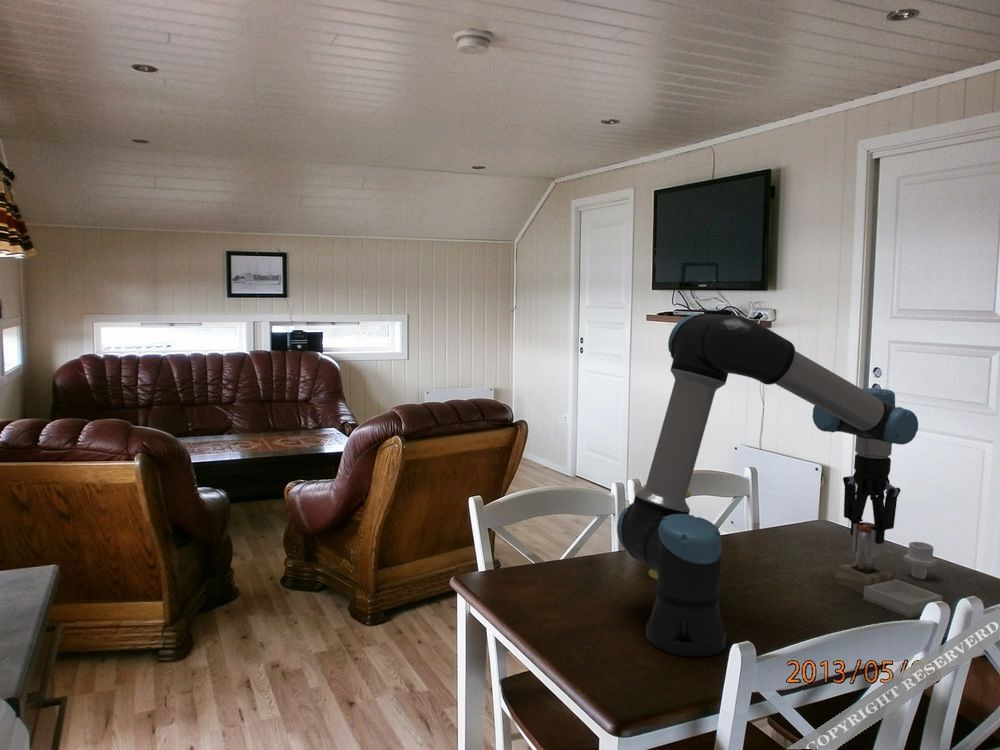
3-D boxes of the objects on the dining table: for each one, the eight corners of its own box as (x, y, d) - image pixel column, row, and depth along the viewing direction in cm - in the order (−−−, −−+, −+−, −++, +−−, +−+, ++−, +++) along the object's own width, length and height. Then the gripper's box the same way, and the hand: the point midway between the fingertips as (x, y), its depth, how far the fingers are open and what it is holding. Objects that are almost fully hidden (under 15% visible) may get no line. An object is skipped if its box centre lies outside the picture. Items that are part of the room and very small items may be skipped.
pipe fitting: (898, 575, 183) (900, 544, 182) (912, 570, 187) (914, 539, 187) (925, 583, 178) (928, 551, 177) (939, 577, 182) (941, 545, 182)
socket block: (868, 595, 170) (869, 578, 170) (834, 582, 178) (835, 566, 178) (894, 589, 174) (895, 572, 174) (860, 576, 182) (861, 560, 182)
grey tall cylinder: (865, 582, 173) (869, 528, 172) (850, 576, 177) (854, 523, 175) (877, 580, 175) (881, 526, 174) (862, 574, 178) (866, 521, 177)
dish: (909, 618, 158) (910, 604, 158) (863, 599, 168) (864, 586, 167) (941, 609, 163) (942, 596, 163) (895, 591, 173) (896, 579, 172)
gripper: (918, 461, 167) (910, 562, 169) (851, 447, 182) (845, 540, 184) (896, 463, 164) (888, 567, 166) (830, 449, 179) (824, 544, 181)
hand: (865, 553), depth 175 cm, fingers closed on grey tall cylinder, 4 cm apart
